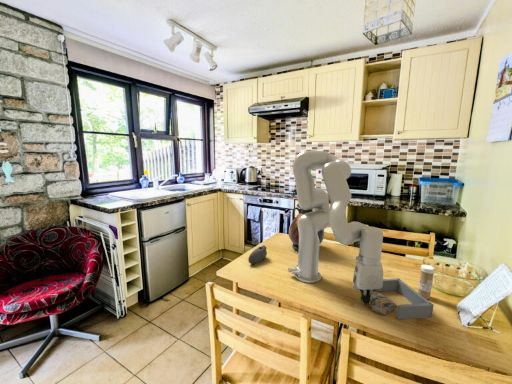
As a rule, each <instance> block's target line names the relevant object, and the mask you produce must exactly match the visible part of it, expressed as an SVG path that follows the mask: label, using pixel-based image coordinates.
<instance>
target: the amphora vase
mask: <svg viewBox="0 0 512 384" xmlns="http://www.w3.org/2000/svg"><path fill="white" fill-rule="evenodd" d="M296 211H297V212H298V214H297V215H295V214H296ZM309 212H313V210H312V209H310V210H303V209H301V208H300V206H299V204H298V203H297V204H296V207H294V208H293V209H292V213H291V223H290V225H289V227H288V237H289V239H290V241H291V243H292V244H291V246H292V249H293V250H295V251H296V252H298V253H299V231H298V220H299V218H300V217H301V216H302V215H303V214H306V213H309ZM317 234H318V237H319V242H320V244H319V245H321V244H322V243H323V240H324V239H325V229H323V230H320V231H318V232H317Z"/></svg>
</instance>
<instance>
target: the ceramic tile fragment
mask: <svg viewBox="0 0 512 384" xmlns="http://www.w3.org/2000/svg"><path fill="white" fill-rule="evenodd" d="M370 302H371V303H370V304H371V306H370V310H371V311H372V312H375V313H377V314H381V315H384V316H386V315H387V314H390V313H391V312H394V311H395V310H397V306H398V304H396V303H395V302H394V301H393V300H391V299H390V298H388V297H387V296H385V295H383V294H382V293H381V292H380V291H378V292H373V294H372V295H371V297H370Z"/></svg>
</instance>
